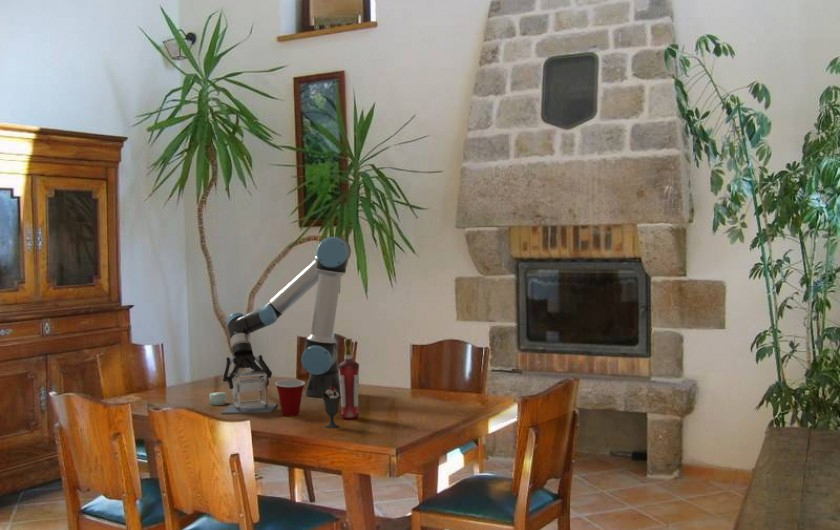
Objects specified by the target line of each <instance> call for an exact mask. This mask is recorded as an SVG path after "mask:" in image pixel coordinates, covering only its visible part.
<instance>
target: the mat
mask: <svg viewBox="0 0 840 530" xmlns="http://www.w3.org/2000/svg"><path fill="white" fill-rule="evenodd" d="M261 404H262V403H240V406H250V405H261ZM277 406H278V403H268V406H261V407H250V408H239V409H238V408H237V407H236V406H235V405H233V404H229V405H228V406H227V407H226V408H225V409H224V410H223V411H221V415H240V414H241V415H242V414H244V415H245V414H247V415H248V414H250V415H251V414H271V413H272V412H273V411H274V410H275V408H276V407H277Z"/></svg>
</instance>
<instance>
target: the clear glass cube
mask: <svg viewBox="0 0 840 530" xmlns="http://www.w3.org/2000/svg"><path fill="white" fill-rule="evenodd" d="M233 375H234V378H233V379H234V380H235V386H236V391H237V395H236V397H234V394H233V389H231V392H232V393H231V397H232V401H231V402H232V405H235V406H236V407H237V408H238V409H239V408H250V407H261V406H268V404H269V403H268V393H267V387H268V386H267V374H266V373H265V372H263V371H256V370H246V371H245V370H243V371H237V372H236V373H233ZM261 376H264V380H263V378H262V377H261ZM235 377H236V379H235ZM250 377H252V378H250ZM253 377H254V378H253ZM240 378H241V379H240ZM243 378H244V379H243ZM264 390H265V391H264ZM256 391H257V392H258V399H254V400H253V399H252V400H241V393H246V392H256ZM262 391H264V400H263V398H262V396H263V395H262ZM236 398H237V401H236ZM252 403H260V404H261V405H250V406H240V404H252Z"/></svg>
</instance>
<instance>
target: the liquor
mask: <svg viewBox="0 0 840 530" xmlns="http://www.w3.org/2000/svg"><path fill="white" fill-rule="evenodd" d="M343 344H344V359H343V361H342V362H341V361H340V363H338V376H339V383H340V395H339V396H341V398H340V408H341V409H340V410H341V412H340V415H339V416H341V418H343V419H344V420H355V418H356V419H357V418H358V417H359V415H360V411H359V384H360V383H359V382H360V381H359V380H360V364H359V363H358V362H357V361H354V360H353V352H352V350H353V349H352V347H353V346H352V345H353V340H352V338H344V343H343Z"/></svg>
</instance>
